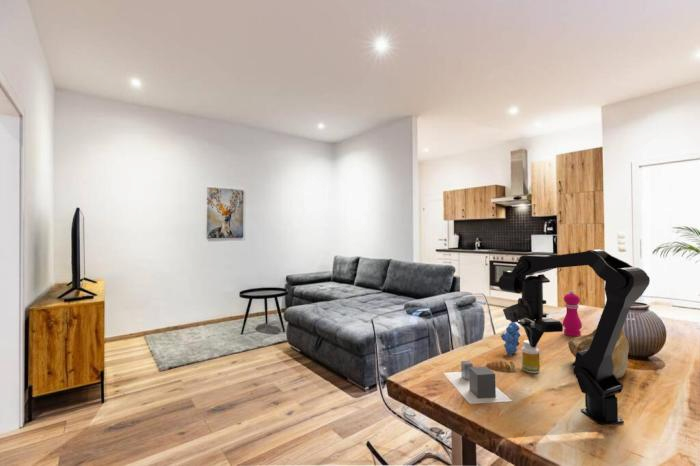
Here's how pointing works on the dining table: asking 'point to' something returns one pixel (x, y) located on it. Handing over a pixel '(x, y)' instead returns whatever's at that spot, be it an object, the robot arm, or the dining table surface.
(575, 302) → the pepper mill
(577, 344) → the rough brown rock
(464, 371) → the steel post
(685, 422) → the dining table surface
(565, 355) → the dining table surface
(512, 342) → the grapes
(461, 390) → the board
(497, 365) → the pastry
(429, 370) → the dining table surface
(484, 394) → the dark gray block
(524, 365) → the supplement bottle
